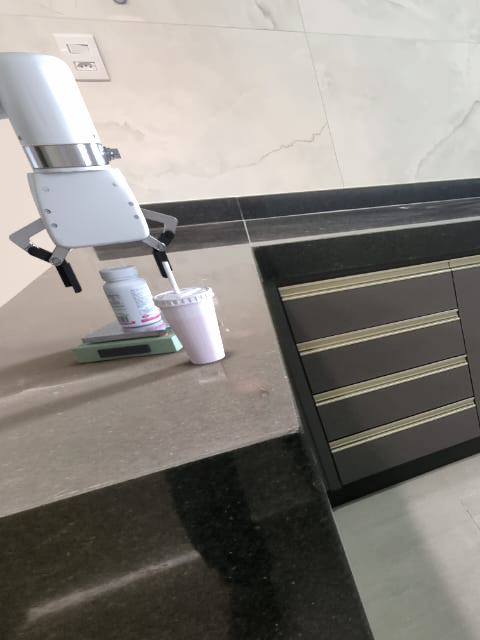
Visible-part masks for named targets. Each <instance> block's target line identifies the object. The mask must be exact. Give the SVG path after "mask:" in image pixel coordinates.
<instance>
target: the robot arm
mask: <svg viewBox="0 0 480 640" xmlns="http://www.w3.org/2000/svg"><path fill="white" fill-rule="evenodd" d="M0 120H8V121H9V123H10V125H11V128H12V129H13V131H14V134H15V135H16V138H17V140H18V142H19V144H20V146H21V148H22V150H23V153H24V154H25V157H26V159H27V161H28V163H29V165H30V167H31V169H32V172H26V178H27V182H28V187H29V190H30V193H31V196H32V199H33V202H34V204H35V207H36V209H37V212H38V215H39V217H38V218H37V219H35V220H34V221H31V222H30V223H28V224H26V225H24V226H23V227H20V229H18V230H16V231H14V232H12V233H10V234H9V236H8V239H9V241H10V242H11V243H13V244H15V246H18V247H19V248H20V249H22V250H23V251H24V252H26V253H27V254H28V255H30V256H31V257H34V258H36V259H39V260H41V261H44V262H45V263H48V264H50V265H52V266H54V267H55V269H56V271H57V273H58V276H59V278H60V279H61V281H62V283H63V285H64V287H65V288H71V287H72V290H73V291H74V293H75V294H79V293H81V292H83V289H82V286H81V283H80V282H79V280H78V277H77V275H76V273H75V271H74V269H73V267H72V265H71V263H70V262H68V261H67V259H66V258H67V256H68V254H69V253H70V251H71V250H73V249H74V250H76V249H84V248H92V247H100V246H101V247H102V246H109V245H117V244H125V243H132V242H137V241H141V242H143V243H144V244H146V245H148V246H150V247H151V248H152V250H151V254H152V256H153V259H154V261H155V263H156V267H157V269H158V271H159V274H160V276H161V277H162V278H163V279H168V276H167V274H166V271H165V269H164V266H163V264H162V262H168V265H169V267H170V269H171V272H173V267H172V265H171V262H170V259H169V258H168V255H167V253H166V250H167V248H168V246H169V245H170V244H171V243H172V241H173V240H174V238H175V236H176V232H177V227H178V223H179V220H178V219H177V218H176V217H174V216H173V215H167V214H164V213H161V212H157V211H153V210H149V209H145V208H142V207H140V204H139V203H138V200H137V199H136V196H135V195H134V193H133V191H132V189H131V187H130V185H129V183H128V181H127V179H126V177H125V176H124V175H123V173H122V172H121V170H120V169H119V167H111V164H110V162H112V161H115V160H117V159H122V157H121V154H120V151H119V149H118V147H117V148H111V147H106V146H103V144H102V143H101V140H100V137H99V135H98V132H97V130H96V128H95V125H94V123H93V120H92V118H91V115H90V113H89V111H88V108H87V106H86V104H85V101H84V99H83V96H82V93H81V92H80V89H79V86H78V84H77V82H76V79H75V77H74V74H73V73H72V70H71V69H70V67H69V66H68V64H67V63H66V62H65V61H64V60H63V59H61V58H59V57H57V56H54V55H51V54H44V53H35V52H25V51H24V52H22V51H21V52H20V51H0ZM146 219H147V220H150V221H153V222H154V221H155V222H158V223H162V224H163V225H164V227H163V231H162V232H161V234H160V235H159V236H158V237H157V238H156V237H154V236H152V235H151V234H150V228H149V226H148V223H147V220H146ZM44 230H46V233H47V235H48V237H49V239H51V241H52V243H53V245H55V247H54V248H53V250H52V251H49V250H48V249H44V248H42V247H40V246H38V245H36V244H35V243H34V242H32V241H31V239H30V238H32V237H33V236H35V235H37V234H39V233H41V232H42V231H44Z"/></svg>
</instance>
